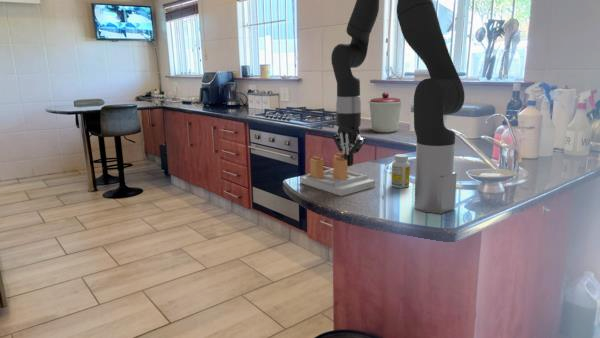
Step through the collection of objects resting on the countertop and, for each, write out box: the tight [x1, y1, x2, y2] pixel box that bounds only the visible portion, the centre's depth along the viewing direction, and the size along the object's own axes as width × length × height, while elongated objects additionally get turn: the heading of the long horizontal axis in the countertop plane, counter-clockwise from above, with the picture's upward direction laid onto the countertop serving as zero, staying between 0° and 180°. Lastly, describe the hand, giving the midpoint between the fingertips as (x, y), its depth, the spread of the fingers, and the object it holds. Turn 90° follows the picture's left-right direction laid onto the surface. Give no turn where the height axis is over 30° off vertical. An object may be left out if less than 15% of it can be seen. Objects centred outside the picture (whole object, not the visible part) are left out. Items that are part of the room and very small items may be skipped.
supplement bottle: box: [390, 153, 411, 189], centre depth 132 cm, size 5×5×10 cm
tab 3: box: [333, 157, 348, 180], centre depth 134 cm, size 3×3×7 cm
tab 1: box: [309, 155, 325, 179], centre depth 136 cm, size 3×3×7 cm
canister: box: [368, 92, 403, 134], centre depth 234 cm, size 18×18×21 cm
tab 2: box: [333, 152, 344, 161], centre depth 140 cm, size 3×3×7 cm
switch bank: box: [300, 167, 376, 197], centre depth 136 cm, size 19×14×3 cm
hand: (348, 165), depth 137 cm, fingers closed
